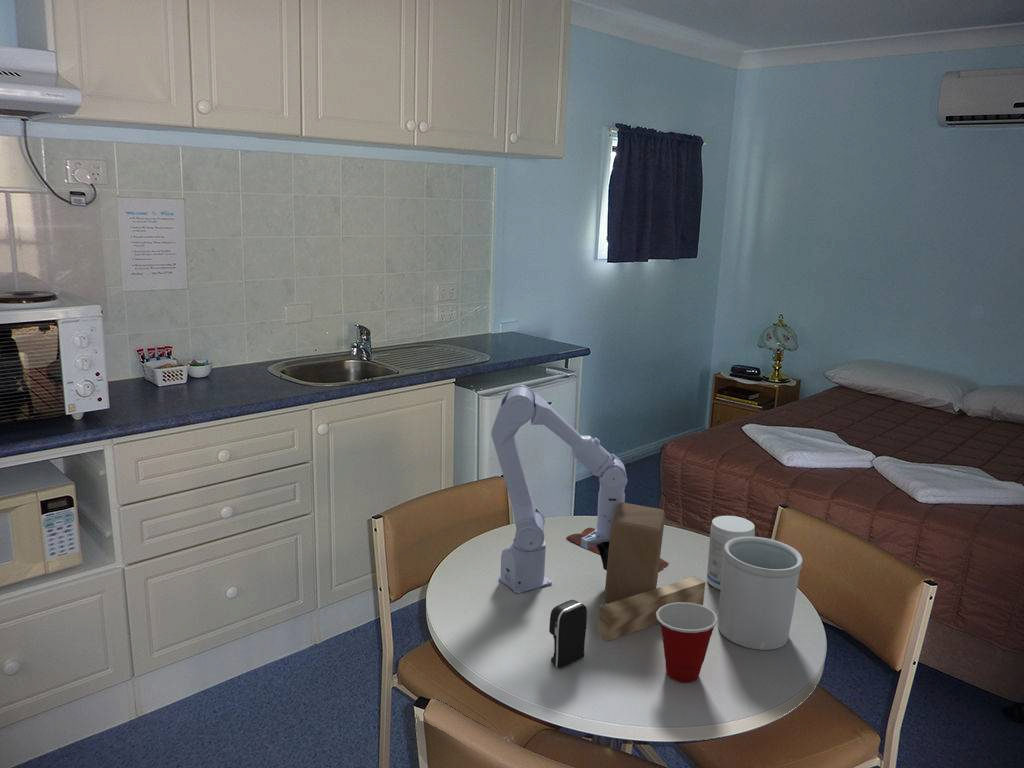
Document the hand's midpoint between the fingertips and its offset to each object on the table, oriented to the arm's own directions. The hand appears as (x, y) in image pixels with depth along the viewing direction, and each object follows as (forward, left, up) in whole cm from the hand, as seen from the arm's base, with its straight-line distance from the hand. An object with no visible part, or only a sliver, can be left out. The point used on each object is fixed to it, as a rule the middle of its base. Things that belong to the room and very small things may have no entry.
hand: (608, 569), depth 175 cm
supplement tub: (+24, -13, -4) cm, 28 cm away
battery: (-26, -19, -4) cm, 32 cm away
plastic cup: (-10, -33, -4) cm, 35 cm away
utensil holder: (+13, -30, -4) cm, 33 cm away
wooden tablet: (+13, +12, -4) cm, 18 cm away
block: (0, -8, -3) cm, 9 cm away
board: (-2, -16, -4) cm, 17 cm away
